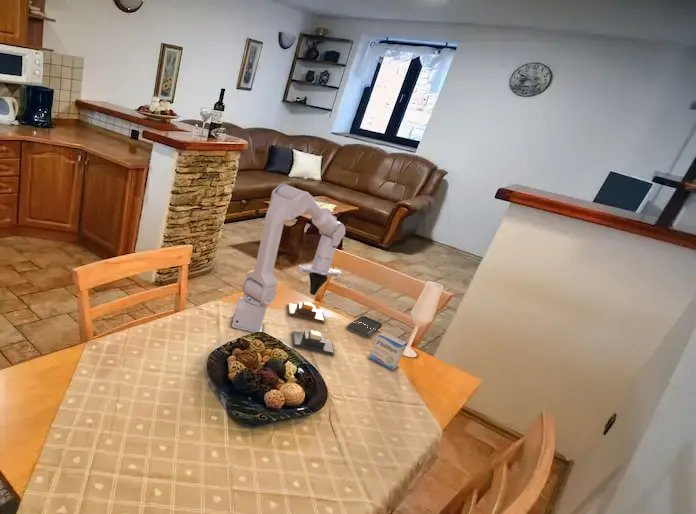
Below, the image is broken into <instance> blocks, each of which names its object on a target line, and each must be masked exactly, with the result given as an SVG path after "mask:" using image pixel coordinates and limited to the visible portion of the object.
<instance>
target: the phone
mask: <svg viewBox="0 0 696 514" xmlns="http://www.w3.org/2000/svg"><path fill="white" fill-rule="evenodd" d="M356 321H357V323H353V322H356ZM358 321H359V322H362V323H359V322H358ZM358 323H359V324H358ZM363 323H364V324H366V325H364V324H363ZM367 325H368V326H367ZM382 326H383V324H382V323H381V322H379V321H377V320H375V319H372V318H370V317H368V316H365V315H361V316H359V317H358V318H356V319H355V320H354V321H352V322H350V323H349V324H347V327H346V329H347V330H348V331H350V332H353V333H356V334H357V335H359V336H362V337H364V338H369V337H370V336H372V335H373V334H375V333H377V331H378V330H380V329H381V328H382ZM367 327H368V328H367ZM370 328H371V329H370ZM373 328H374V329H373ZM375 329H376V330H375Z"/></svg>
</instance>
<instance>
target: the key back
mask: <svg viewBox="0 0 696 514" xmlns="http://www.w3.org/2000/svg"><path fill="white" fill-rule="evenodd" d="M302 303H303V308H305V309H310V310H312V309H313V305H314V303H313V302H310V301H304V300H303V302H302Z"/></svg>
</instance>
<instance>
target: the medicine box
mask: <svg viewBox="0 0 696 514" xmlns="http://www.w3.org/2000/svg"><path fill="white" fill-rule="evenodd" d="M375 339H376V340H375V341H374V344H373V346H372V348H371V351H370V354H369V356H368V359H369V360H371V361H373V362H375V363H377V364H379V365H381V366H383V367H385V368H387V369H389V370H391V371H392V370H395V369H396V368H397V367H398V366H399V365H400V362H401V359H402V358H403V356H404V355H403V353H404V350H405V348H406V346H407V344H408V341H405V340H403V339H401V338H399V337H396V336H394V335H392V334H391V333H388V332H386V331H382V332H380V333H379V334H377V337H376V338H375Z"/></svg>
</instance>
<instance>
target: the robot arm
mask: <svg viewBox="0 0 696 514" xmlns="http://www.w3.org/2000/svg"><path fill="white" fill-rule="evenodd" d="M331 212H332V211H331V209H329V208H327V207H326V208H325V207H320V205H319V204H318V203H317V201H315V199H314V196H313V195H312V194H310V193H309V192H308V191H305V190H301V189H299V188H297V187H294V186H291V185H289V184H287V183H280V184H278V186H276V188H274V189H273V190H272V191H271V196H270V201H269V205H268V209H267V211H266V214H265V218H264V223H263V227H262V232H261V238H260V242H259V247H258V252H257V257H256V262H255V267H254V269H253V270H250V271H248V272H247V273H246V276H245V279H244V281H243V282H242V286H241V291H242V293H243V296H238V297H237V302H236V307H235V310H234V313H233V314H232V324H231V328H233V329H234V328H235V329H237V330H241V331H247V332H250V333H251V332H252V333H255V334H257V333H256V332H262V333H263V323H264V322H263V321H264V318H265V315H266V311H267V308H268V306H270V305H271V304H272V303H273V302H274V301H275V299H276V296H277V289H276V288H277V284H278V283H277V280H276V278H275V276H274V274H273V273H274V270H275V269H274V268H275V266H276V265H275V264H276V260H277V256H278V251H279V248H280V247H279V246H280V242H281V238H282V234H283V230H284V224H285V223H286V222H288V221H289V222H290V221H292V220H294V219H296V218H297V217H300V216H301V215H303V214H304V213H307V215H309V216H310V217H311V223H312V224H313V225H314V226H315V227H316V228H317V229H318V233H319V235H321V236H320V238H319V242H318V244H317V245H318V246H317V249H316V251H315V255H314V258H313V262H312V264H299V265H298V267H297V271H298V273H306V274H308V276H309V285H310V287H309V294H310V295H312V296H316V294H317V293H318V291H319V290H320V288H321V287H322V286H323V285H324V284H325V283H326V282H327V281H328V278H329V276H330V277H336V278H338V279H340V278H341V276H342V271H341V270H339V269H334V268H331V265H332V263H333V259H334V256H335V253H336V250H337V248H338V246H339V245H340V244H341V241H342V239H343V238H344V237H345V235H346V226H345V225H344V223H342V222H340V221H338V220H337V219H338V218H337V216H335V215H333V214H332V213H331Z"/></svg>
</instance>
